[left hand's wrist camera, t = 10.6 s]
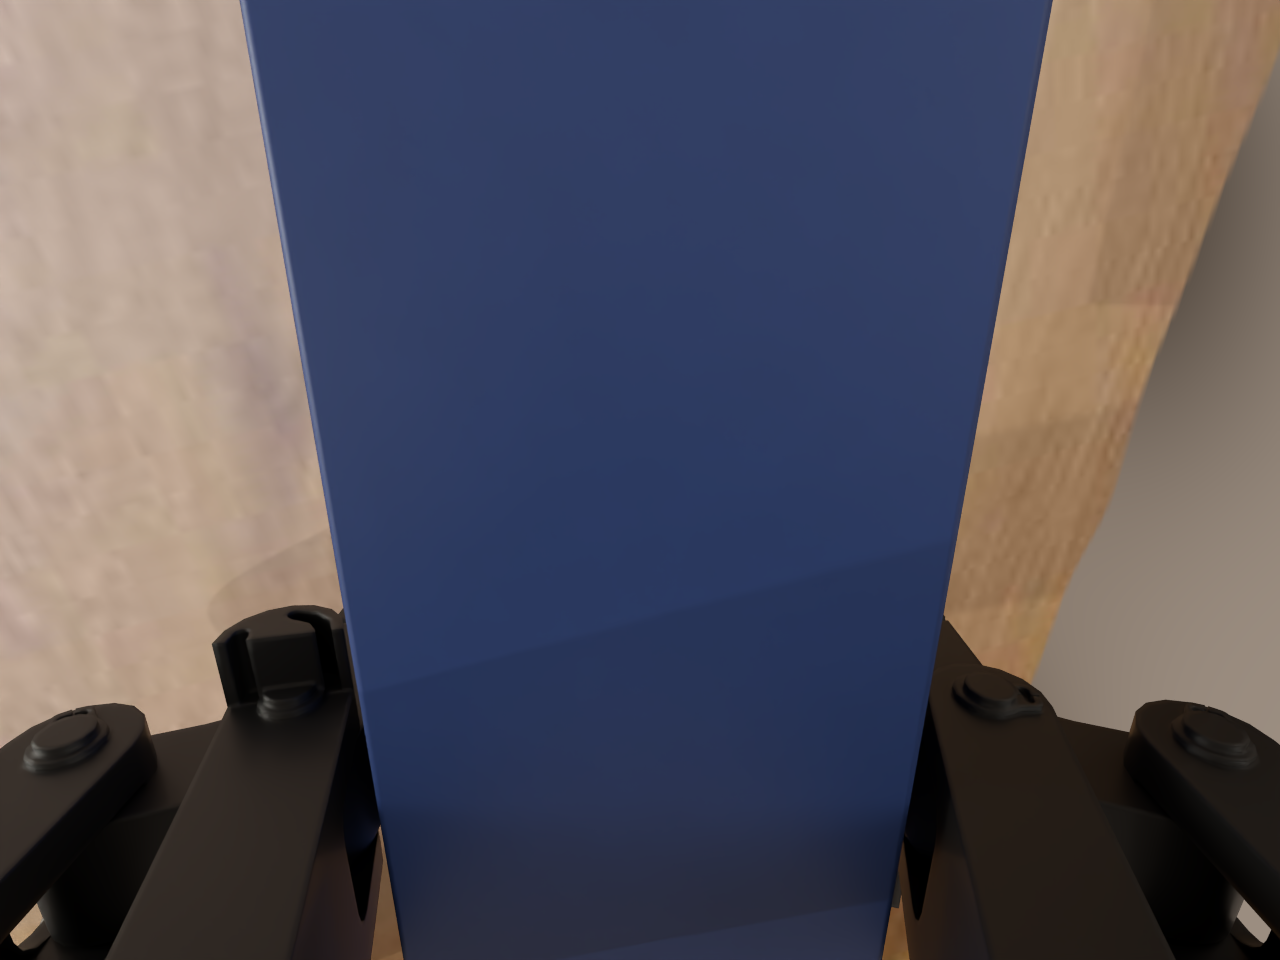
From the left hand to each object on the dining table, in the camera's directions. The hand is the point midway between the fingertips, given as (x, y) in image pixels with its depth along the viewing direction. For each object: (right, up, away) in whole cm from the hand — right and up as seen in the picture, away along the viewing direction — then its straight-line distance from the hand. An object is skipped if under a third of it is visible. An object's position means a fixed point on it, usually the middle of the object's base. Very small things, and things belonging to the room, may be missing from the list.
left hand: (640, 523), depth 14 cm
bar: (0, +10, -3) cm, 10 cm away
